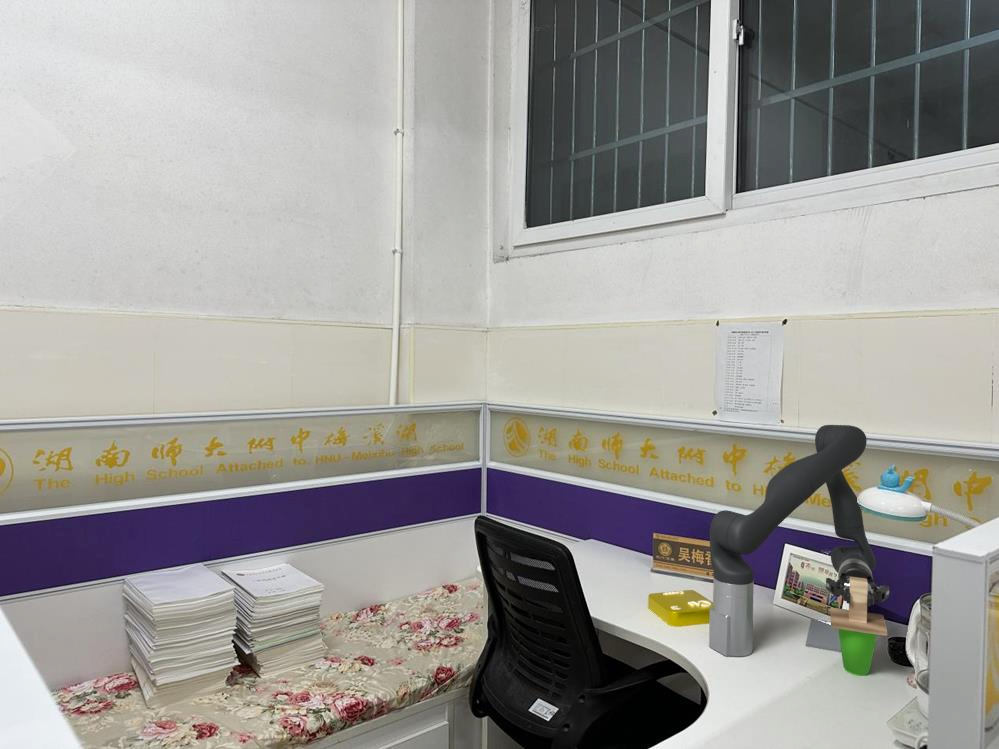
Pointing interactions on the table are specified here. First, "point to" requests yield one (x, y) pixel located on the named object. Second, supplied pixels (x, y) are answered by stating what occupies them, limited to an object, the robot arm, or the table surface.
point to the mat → (823, 636)
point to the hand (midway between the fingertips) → (858, 600)
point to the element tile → (681, 607)
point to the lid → (858, 612)
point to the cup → (857, 651)
